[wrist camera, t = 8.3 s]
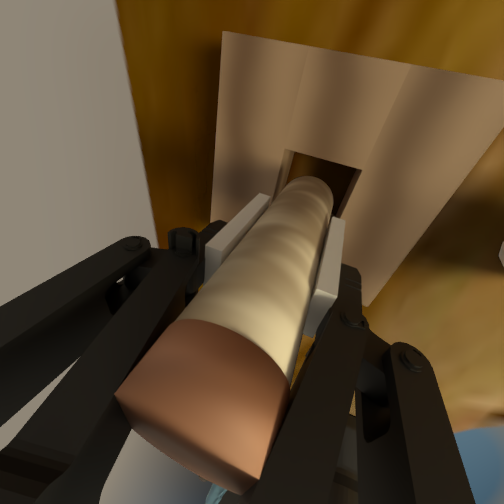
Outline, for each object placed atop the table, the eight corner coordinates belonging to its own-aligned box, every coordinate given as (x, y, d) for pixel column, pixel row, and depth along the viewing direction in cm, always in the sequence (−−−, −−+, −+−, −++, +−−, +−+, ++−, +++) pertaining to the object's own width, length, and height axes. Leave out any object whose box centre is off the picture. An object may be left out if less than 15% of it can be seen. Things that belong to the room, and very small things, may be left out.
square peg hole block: (490, 89, 16) (534, 86, 12) (366, 276, 26) (367, 306, 23) (250, 44, 19) (222, 30, 15) (228, 226, 30) (208, 245, 26)
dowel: (343, 184, 16) (291, 482, 4) (322, 232, 18) (249, 507, 6) (288, 168, 17) (89, 367, 4) (275, 216, 19) (125, 430, 7)
